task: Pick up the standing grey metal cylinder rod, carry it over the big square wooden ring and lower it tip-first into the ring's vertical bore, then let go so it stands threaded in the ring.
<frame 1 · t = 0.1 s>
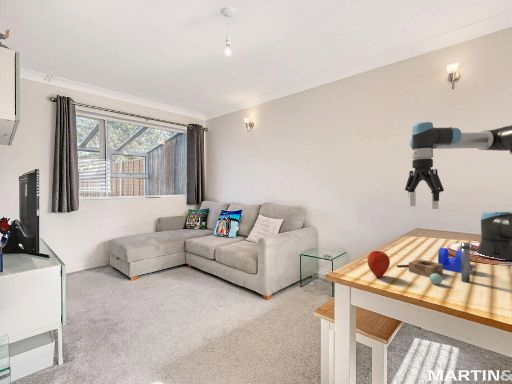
hand: (422, 207, 111), 28 cm above the table, fingers open, 13 cm apart
square wooden ring: (425, 272, 109), on the table
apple: (378, 277, 106), on the table
thin dark grey rod: (412, 266, 118), on the table
bracket: (455, 267, 116), on the table
grey metal cylinder rod: (465, 281, 99), on the table
loose teal bead: (435, 284, 97), on the table
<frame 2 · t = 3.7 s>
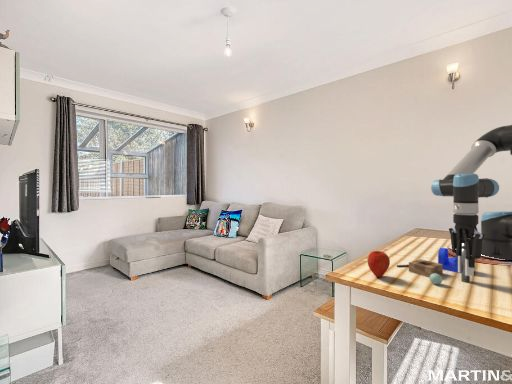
hand: (465, 273, 99), 3 cm above the table, fingers closed on grey metal cylinder rod, 2 cm apart
grey metal cylinder rod: (465, 281, 99), on the table, touching gripper
everything else where it was.
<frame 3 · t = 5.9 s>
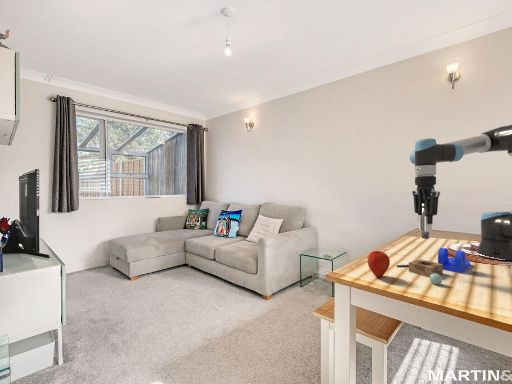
hand: (425, 230, 109), 18 cm above the table, fingers closed on grey metal cylinder rod, 2 cm apart
grey metal cylinder rod: (425, 238, 109), point 15 cm above the table, touching gripper
everything else where it was.
when the fingers open (5 cm above the table, at t = 8.0 s): grey metal cylinder rod stays where it is, resting in square wooden ring.
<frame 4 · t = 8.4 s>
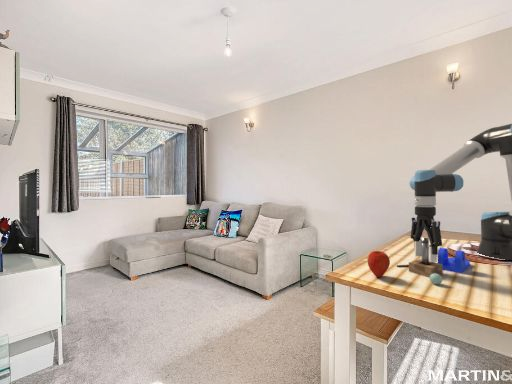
hand: (425, 258, 109), 6 cm above the table, fingers open, 8 cm apart
grey metal cylinder rod: (425, 272, 109), resting in square wooden ring
everything else where it was.
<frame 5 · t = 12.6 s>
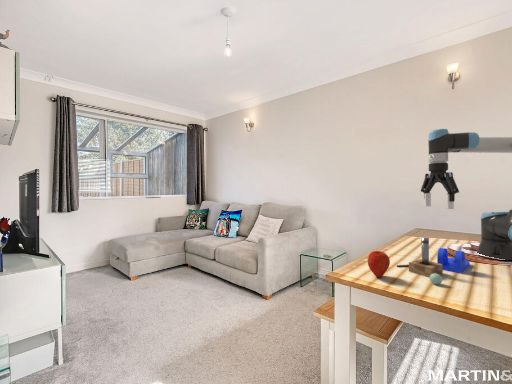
hand: (438, 207, 120), 27 cm above the table, fingers open, 13 cm apart
nothing on the table moved.
at the end: grey metal cylinder rod 0.1 cm from the square wooden ring (horizontally); grey metal cylinder rod resting in square wooden ring; grey metal cylinder rod tilted 0° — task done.
